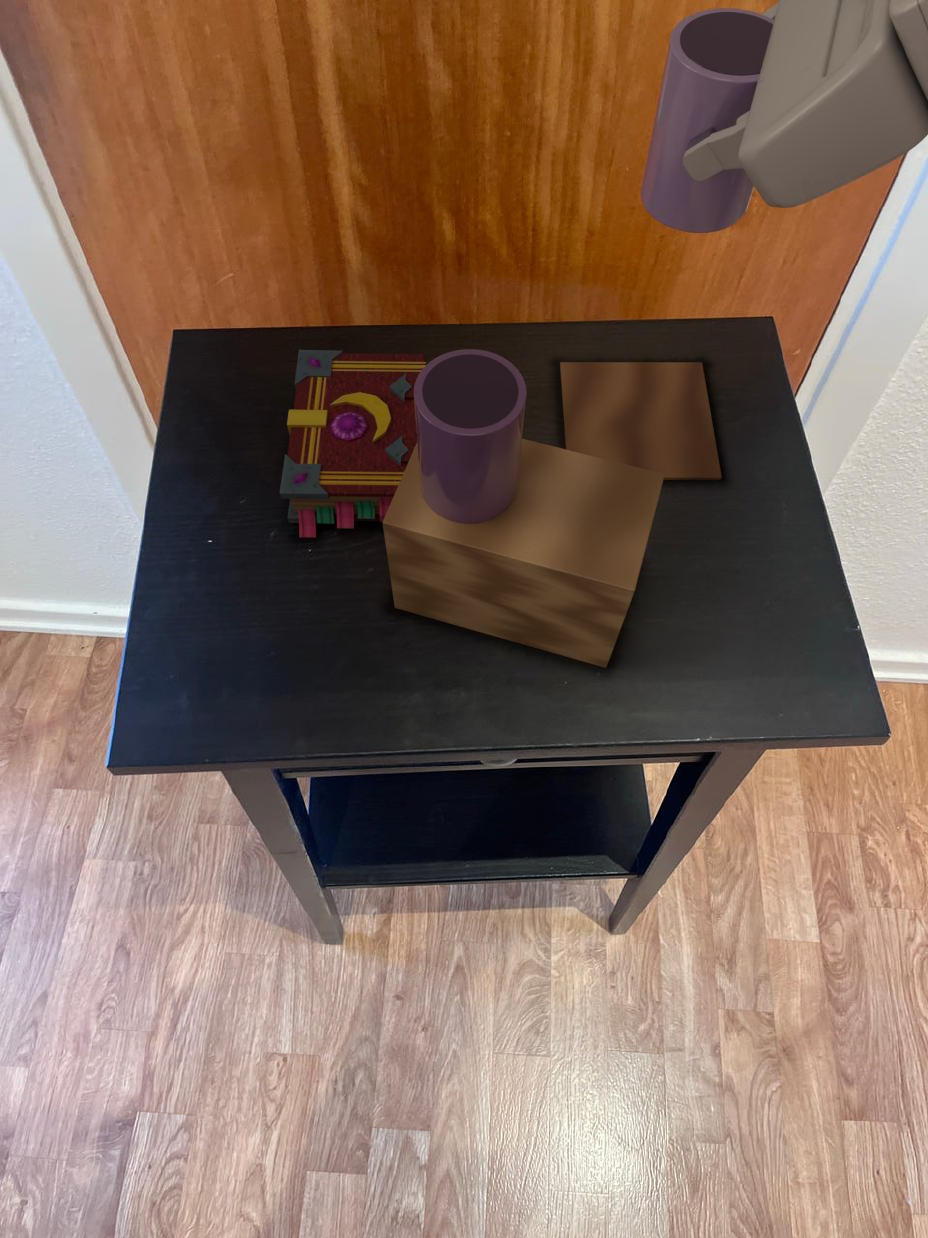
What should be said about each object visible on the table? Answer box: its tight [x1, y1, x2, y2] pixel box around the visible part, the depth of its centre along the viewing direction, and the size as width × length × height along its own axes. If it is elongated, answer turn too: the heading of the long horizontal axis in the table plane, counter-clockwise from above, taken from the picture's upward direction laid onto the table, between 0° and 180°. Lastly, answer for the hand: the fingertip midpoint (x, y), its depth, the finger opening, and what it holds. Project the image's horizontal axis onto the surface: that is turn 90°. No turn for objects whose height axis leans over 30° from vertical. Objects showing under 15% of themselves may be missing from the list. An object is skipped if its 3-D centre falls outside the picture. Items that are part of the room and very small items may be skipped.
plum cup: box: [414, 348, 528, 524], centre depth 54 cm, size 7×7×9 cm
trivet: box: [559, 361, 722, 481], centre depth 76 cm, size 13×13×1 cm
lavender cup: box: [639, 7, 774, 234], centre depth 49 cm, size 7×7×9 cm
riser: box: [382, 438, 665, 669], centre depth 63 cm, size 17×10×12 cm, turn 72°
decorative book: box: [279, 349, 428, 538], centre depth 72 cm, size 11×16×5 cm
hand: (703, 121), depth 49 cm, fingers closed on lavender cup, 6 cm apart
